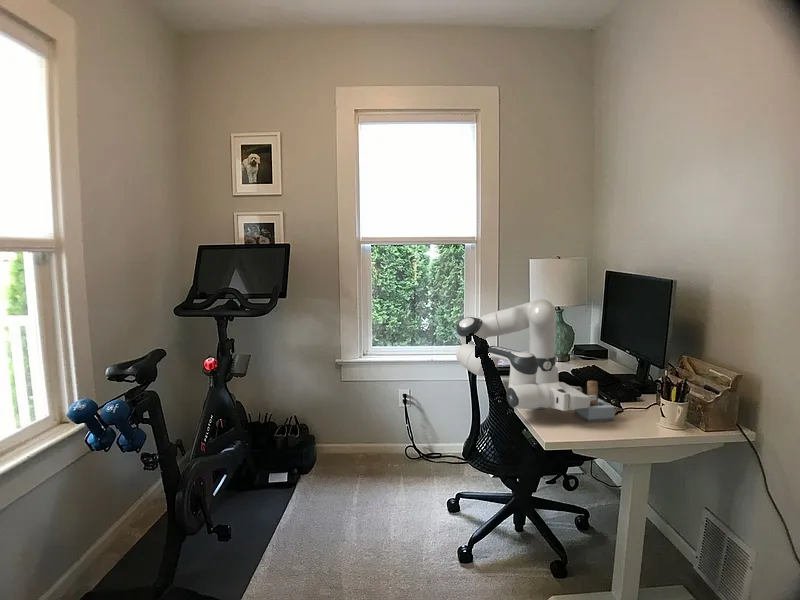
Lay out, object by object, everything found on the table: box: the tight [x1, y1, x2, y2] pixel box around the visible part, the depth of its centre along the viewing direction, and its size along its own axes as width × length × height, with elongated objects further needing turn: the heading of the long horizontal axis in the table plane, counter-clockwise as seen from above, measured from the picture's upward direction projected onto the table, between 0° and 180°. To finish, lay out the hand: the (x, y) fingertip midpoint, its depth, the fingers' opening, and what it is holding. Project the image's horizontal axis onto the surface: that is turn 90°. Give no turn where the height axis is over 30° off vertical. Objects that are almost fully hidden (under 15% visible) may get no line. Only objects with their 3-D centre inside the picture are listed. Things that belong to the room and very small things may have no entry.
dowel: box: [586, 380, 599, 406], centre depth 176 cm, size 4×4×12 cm
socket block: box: [573, 398, 615, 423], centre depth 177 cm, size 10×10×5 cm
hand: (588, 393), depth 176 cm, fingers open, 8 cm apart
